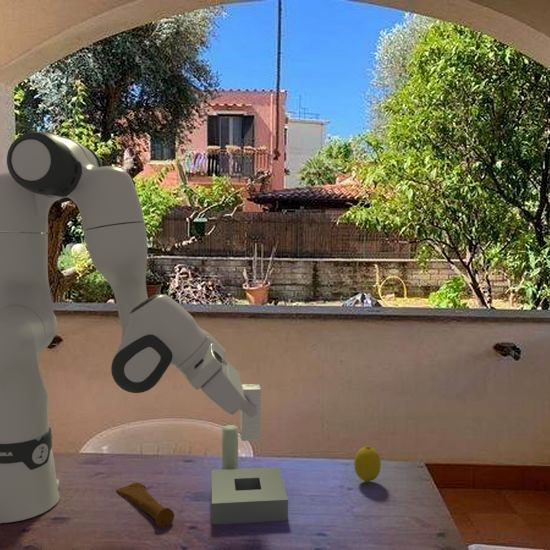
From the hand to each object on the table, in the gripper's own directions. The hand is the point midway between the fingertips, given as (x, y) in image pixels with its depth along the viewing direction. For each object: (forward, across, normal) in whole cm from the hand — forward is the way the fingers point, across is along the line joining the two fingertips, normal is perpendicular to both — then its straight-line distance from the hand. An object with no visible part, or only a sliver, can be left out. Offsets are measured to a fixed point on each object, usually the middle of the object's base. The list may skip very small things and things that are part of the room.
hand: (253, 409), depth 105 cm
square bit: (+3, 0, -4) cm, 5 cm away
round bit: (+11, -14, -16) cm, 24 cm away
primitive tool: (-1, -2, -29) cm, 29 cm away
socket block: (+13, 0, -14) cm, 19 cm away
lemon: (+31, -6, +5) cm, 32 cm away
